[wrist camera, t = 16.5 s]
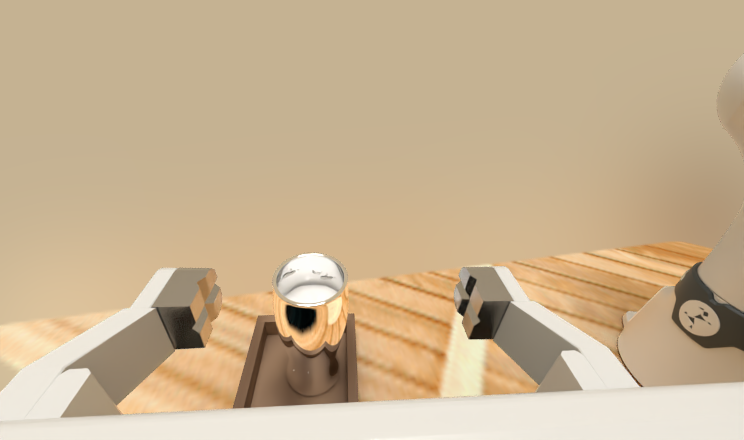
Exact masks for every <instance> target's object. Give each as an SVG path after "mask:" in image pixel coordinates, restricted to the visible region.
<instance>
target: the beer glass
mask: <svg viewBox="0 0 744 440" xmlns="http://www.w3.org/2000/svg"><path fill="white" fill-rule="evenodd" d="M272 285H273V309H274V318H275V323H276V328H277V331H278V334H279V337H280V339H281V341H282V344H283V346H284V348H285V350H286V352H287V355H288V358H289V359H288V364H287V380H288V382H289V384H290V386H291V387H292V388H293V390H295V391H296V392H297V393H299V394H301V395H304V396H317V395H320V394H323V393H325V392H327V391H328V390H329V389H331V388H332V387H333V386H334V384H335V383H336V381H337V379H338V377H339V374H340V360H339V357H338V348H339V345H340V342H341V340H342V337H343V334H344V330H345V326H346V323H347V316H348V274H347V271H346V268H345V267H344V265H343V264H342V263H341V262H340V261H338V260H337V259H336V258H334V257H332V256H329V255H326V254H322V253H304V254H300V255H296V256H293V257H291V258H289V259H287V260H286V261H284V262H283V263H282V264H281V265H280V266H279V267H278V268H277V270H276V271H275V273H274V275H273V280H272Z"/></svg>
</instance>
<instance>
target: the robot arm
mask: <svg viewBox="0 0 744 440" xmlns="http://www.w3.org/2000/svg"><path fill="white" fill-rule="evenodd" d="M717 113H718V117H719V120H720V122H721V124H722V126H723V127H724V129H725V130H726V131H727V132H728V133H729V134H730V136H732V138H733V140H734V141H735V143H736V145H737V146H738V148H739V150H740V153H741V155H742V157H743V161H744V53H743V54H742V55H741V56H740V58H739V59H738V60H737V61H736V62H735V63H734V64H733V65H732V67H731V68H730V69H729V71H728V73H727V74H726V76H725V78H724V79H723V81H722V83H721V86H720V88H719V92H718V96H717ZM459 278H460V280H461V281H460V282H459V283H458V284H457V285H456V286H455V290H454V302H455V306H456V309H457V312H458V313H460V314H461V315H462V316H463V317H464V318H463V321H462V324H463V327H464V329H465V332H466V334H467V337H468V339H493V341H494V342H495V343H496V344H497V345H498V346H499V347H500V348H501V349H502V350H503V351H504V352H505V353H506V354H507V355H508V356H510V357H511V358H512V359H513V360H514V361H515V362H516V363H517V364H518V365H519V366H520V367H521V368H522V369H523V370H524V371H525V372H526V373H527V374H528V375H529V376H530V377H531V378H532V379H533V380H534V381H535V382H536V383H537V384H538V385H539V387H538V388H537V390H536V391H535V393H519V394H500V395H481V396H463V397H444V398H425V399H406V400H388V401H369V402H350V403H331V404H312V405H293V406H274V407H255V408H236V409H217V410H198V411H179V412H160V413H141V414H122V413H121V411H120V410H119V409H118V407H117V405H118V404H119V403H120V402H121V401H122V400H123V399H124V398H125V397H126V396H127V395H128V394H129V393H130V392H132V391H133V390H134V389H135V388H136V387H137V386H138V385H139V384H140V383H141V382H142V381H143V380H144V379H145V378H147V377H148V376H149V375H150V374H151V373H152V372H153V371H154V370H155V369H156V368H157V367H158V366H159V365H160V364H162V363H163V362H164V361H165V360H166V359H167V358H168V357H169V356H170V355H171V354H172V353H173V352H174V351H175V350H174V349H191V348H205V346H206V344H207V342H208V339H209V337H210V334H211V332H212V330H213V328H212V325H211V322H212V321H213V320H215V319H216V318H217V317H218V315H219V312H220V310H221V304H222V293H221V289H220V287H219V286H217V285H216V284H215V282H216V280H217V275H216V272H215V270H214V269H212V268H161V269H159V270H158V271H157V272H156V273H155V274H154V276H153V277H152V278H151V280H150V281H149V282H148V284H147V285H146V287H145V288H144V289H143V291H142V292H141V293H140V295H139V296H138V298H137V299H136V300H135V302H134V303H133V304H132V306H131V307H130V308H125V309H122V310H121V311H119V312H117V313H116V314H114V315H112V316H111V317H109V318H107V319H105V320H104V321H102V322H100V323H99V324H97V325H95V326H94V327H92V328H90V329H89V330H87V331H85V332H84V333H82V334H80V335H78V336H77V337H75V338H73V339H72V340H70V341H68V342H67V343H65V344H63V345H62V346H60V347H58V348H57V349H55V350H53V351H51V352H50V353H48V354H46V355H45V356H43V357H41V358H40V359H38V360H36V361H35V362H33V363H31V364H30V365H28V366H26V367H24V368H23V369H21V370H20V372H19V373H18V374H17V375H16V376H15V377H14V378H13V379H12V380H11V382H10V383H9V384H8V385H7V386H6V387H5V388H4V389H3V390H2V391H1V392H0V440H744V200H743V203H742V206H741V208H740V210H739V212H738V214H737V216H736V218H735V219H734V221H733V222H732V224H731V225H730V227H729V228H728V230H727V231H726V233H725V234H724V235H723V237H722V238H721V240H720V241H719V242H718V244H717V245H716V246H715V248H714V249H713V250H712V251H711V253H710V254H709V255H708V256H707V257H706V259H705V260H704V261H703V262H699V263H696V264H695V265H694V266H693V267H692V268H691V269H689V270H688V271H686V272H685V273H684V275H683V276H682V277H681V279H680V281H679V282H678V283H677V284H676V286H670V287H669V286H665V287H663V288H662V289H660V290H659V291H658V292H657V293H656V294H655V295H654V296H653V297H652V298H651V299H650V300H649V301H648V302H647V303H646V304H645V305H644V306H643V307H642V308H641V309H640V310H639V311H638V312H634V311H628V312H626V313H625V314H624V315H623V317H622V320H623V325H624V329H623V331H622V332H621V334H620V335H619V338H618V349H619V353H620V355H621V358H622V360H623V361H624V363H625V365H626V366H627V368H628V369H629V371H630V372H631V373H632V375H633V376H634V377H635V378H636V379H637V381H638V382H639V383H640V384H641V385H642V386H643V387H640V386H639V385H638V384H637V383H636V381H635V380H634V379H633V378H632V376H631V375H630V374H629V373H628V372H627V370H626V369H625V368H624V367H623V365H622V364H621V363H620V362H619V360H618V359H617V358H616V357H615V355H614V354H613V353H612V352H611V351H610V349H609V348H608V347H606V346H604V345H603V344H601V343H600V342H598V341H596V340H595V339H593V338H592V337H590V336H589V335H587V334H585V333H584V332H582V331H581V330H579V329H578V328H576V327H574V326H573V325H571V324H570V323H568V322H567V321H565V320H563V319H562V318H560V317H559V316H557V315H556V314H554V313H552V312H551V311H549V310H548V309H546V308H545V307H543V306H541V305H540V304H538V303H537V302H535V301H530V300H529V298H528V297H527V296H526V294H525V293H524V291H523V290H522V288H521V287H520V285H519V284H518V282H517V281H516V279H515V278H514V276H513V275H512V273H511V272H510V270H509V269H508V268H507V267H505V266H497V267H463V268H462V269H461V270H460V273H459Z"/></svg>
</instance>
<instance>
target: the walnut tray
mask: <svg viewBox="0 0 744 440" xmlns="http://www.w3.org/2000/svg"><path fill="white" fill-rule="evenodd" d="M338 357H339V360H340V374H339V377H338V379H337V381H336V383H335V384H334V386H333V387H332V388H331V389H329V390H328V391H327V392H325V393H323V394H320V395H317V396H304V395H301V394H299V393H297V392H296V391H295V390H293V388H292V387H291V386H290V384H289V382H288V380H287V364H288V359H289V358H288V355H287V352H286V350H285V348H284V346H283V344H282V341H281V339H280V337H279V334H278V331H277V328H276V323H275V318H274V315H265V316H258V318H257V322H256V326H255V329H254V333H253V336H252V340H251V344H250V347H249V351H248V355H247V358H246V362H245V365H244V369H243V373H242V376H241V380H240V384H239V387H238V391H237V395H236V398H235V402H234V405H233V409H236V408H255V407H274V406H293V405H312V404H331V403H350V402H358V383H357V362H356V340H355V319H354V314H348V316H347V323H346V326H345V330H344V334H343V337H342V340H341V342H340V345H339V348H338Z"/></svg>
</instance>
